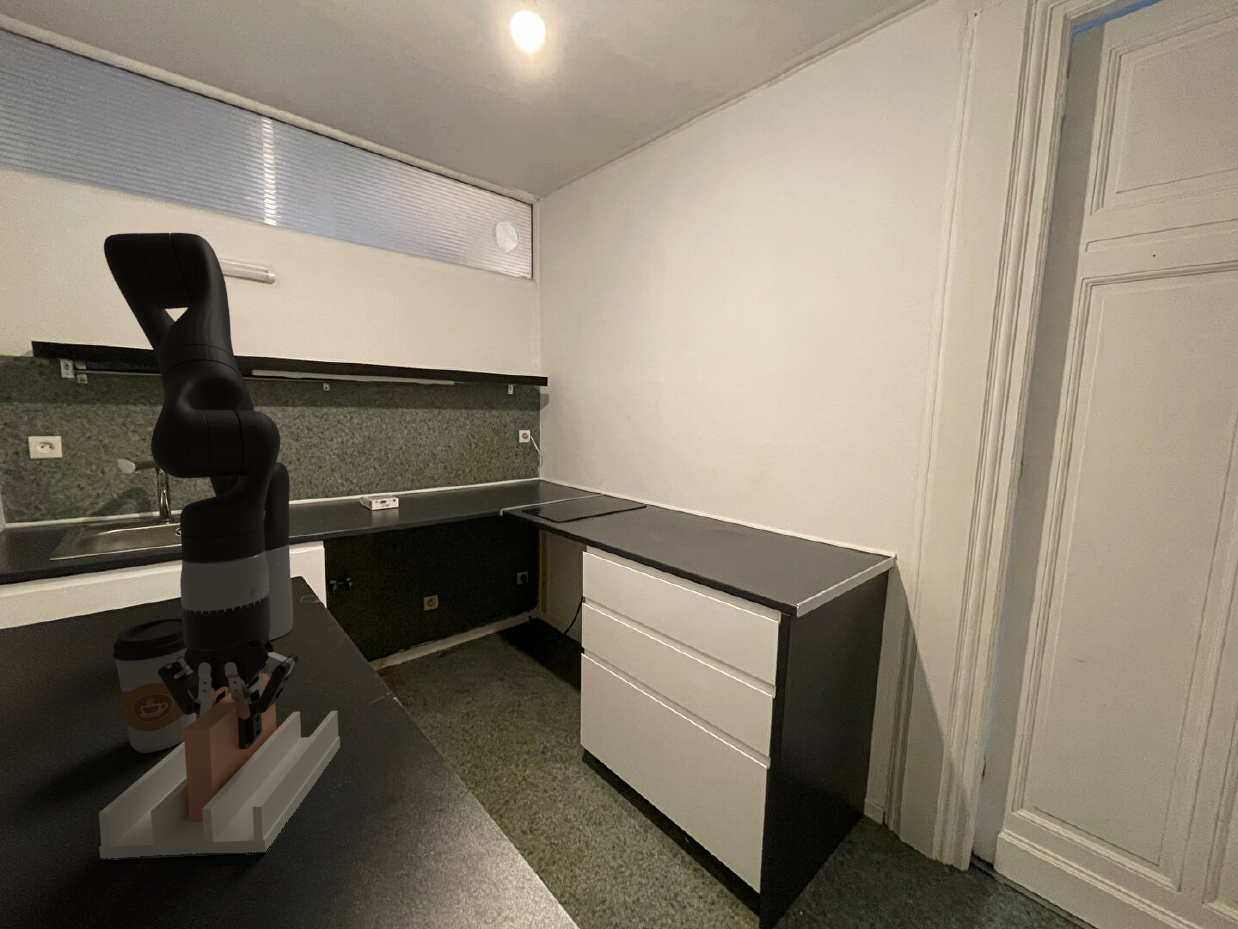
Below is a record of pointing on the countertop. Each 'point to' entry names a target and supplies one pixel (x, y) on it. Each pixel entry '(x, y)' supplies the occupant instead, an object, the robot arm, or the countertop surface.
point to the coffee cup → (150, 683)
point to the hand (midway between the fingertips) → (234, 744)
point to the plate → (218, 750)
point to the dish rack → (220, 799)
